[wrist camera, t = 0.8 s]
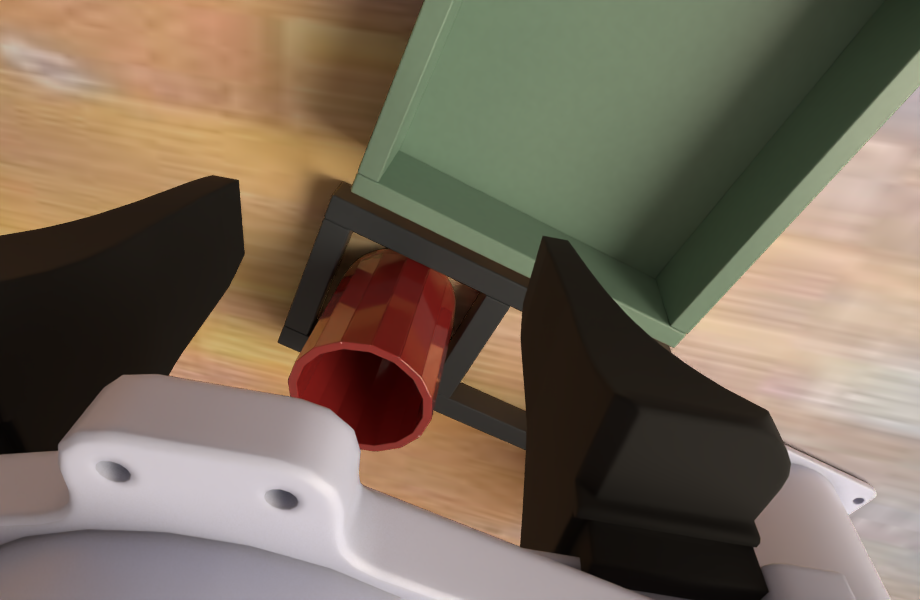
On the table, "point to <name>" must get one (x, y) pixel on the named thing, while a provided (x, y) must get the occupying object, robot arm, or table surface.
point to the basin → (634, 131)
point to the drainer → (442, 256)
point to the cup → (380, 349)
